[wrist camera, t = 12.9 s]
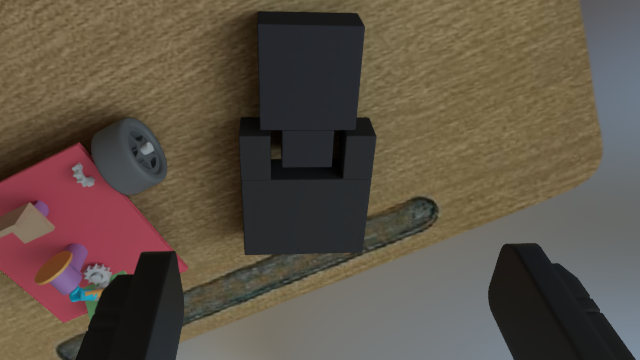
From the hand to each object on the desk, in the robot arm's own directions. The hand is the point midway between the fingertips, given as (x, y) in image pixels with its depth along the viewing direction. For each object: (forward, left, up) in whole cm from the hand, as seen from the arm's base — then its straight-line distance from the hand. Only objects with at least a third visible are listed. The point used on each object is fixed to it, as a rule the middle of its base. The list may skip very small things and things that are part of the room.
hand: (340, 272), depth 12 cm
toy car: (+14, +12, -19) cm, 26 cm away
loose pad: (0, +3, -19) cm, 19 cm away
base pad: (0, +9, -19) cm, 21 cm away
